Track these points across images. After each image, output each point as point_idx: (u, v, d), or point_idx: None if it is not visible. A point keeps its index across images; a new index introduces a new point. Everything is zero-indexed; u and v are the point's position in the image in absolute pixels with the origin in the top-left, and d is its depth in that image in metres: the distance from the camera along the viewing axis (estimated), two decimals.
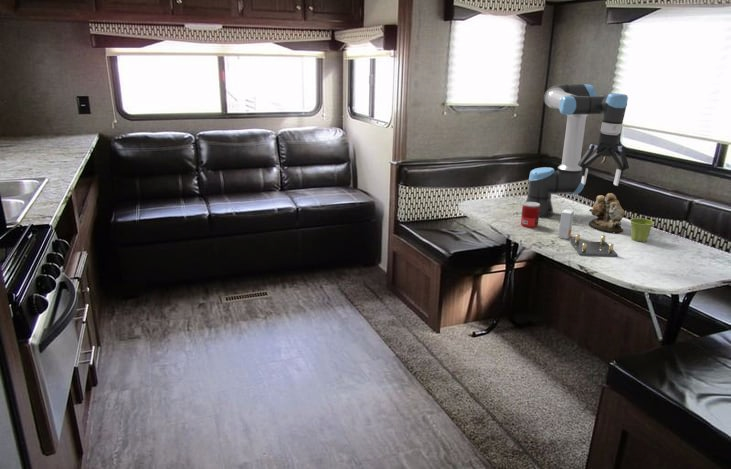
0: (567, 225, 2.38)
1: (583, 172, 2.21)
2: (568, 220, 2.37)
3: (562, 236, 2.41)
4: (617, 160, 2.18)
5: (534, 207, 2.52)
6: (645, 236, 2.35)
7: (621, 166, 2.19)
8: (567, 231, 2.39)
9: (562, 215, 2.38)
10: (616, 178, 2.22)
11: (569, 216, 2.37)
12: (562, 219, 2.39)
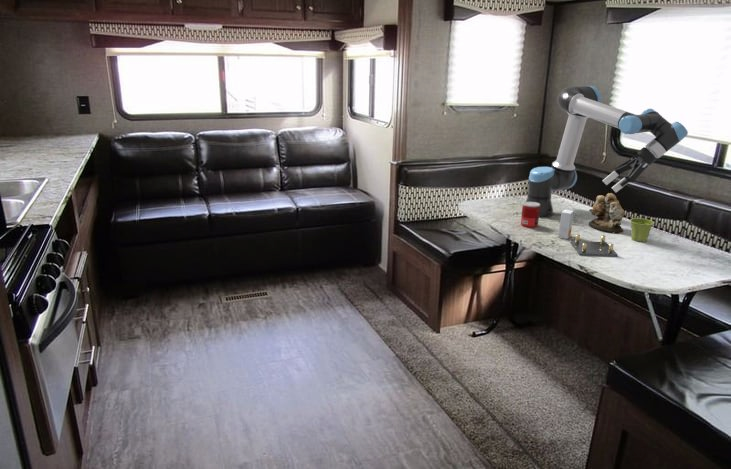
0: (567, 225, 2.38)
1: None
2: (568, 220, 2.37)
3: (562, 236, 2.41)
4: None
5: (534, 207, 2.52)
6: (645, 236, 2.35)
7: None
8: (567, 231, 2.39)
9: (562, 215, 2.38)
10: (610, 179, 2.39)
11: (569, 216, 2.37)
12: (562, 219, 2.39)
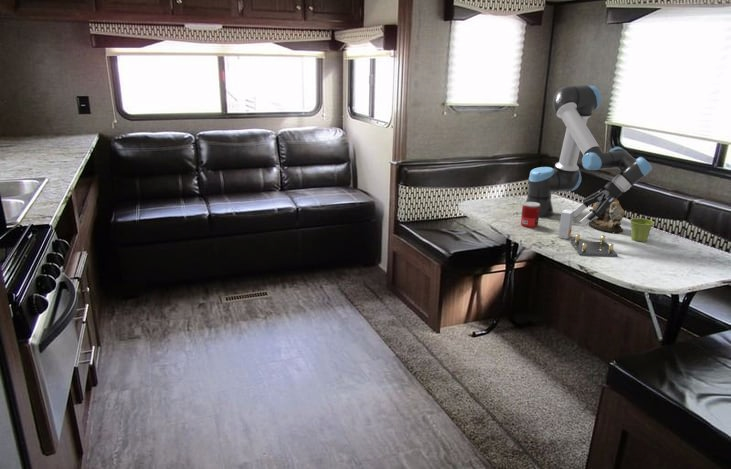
0: (567, 225, 2.38)
1: None
2: (568, 220, 2.37)
3: (562, 236, 2.41)
4: None
5: (534, 207, 2.52)
6: (645, 236, 2.35)
7: None
8: (567, 231, 2.39)
9: (562, 215, 2.38)
10: (579, 211, 2.44)
11: (569, 216, 2.37)
12: (562, 219, 2.39)
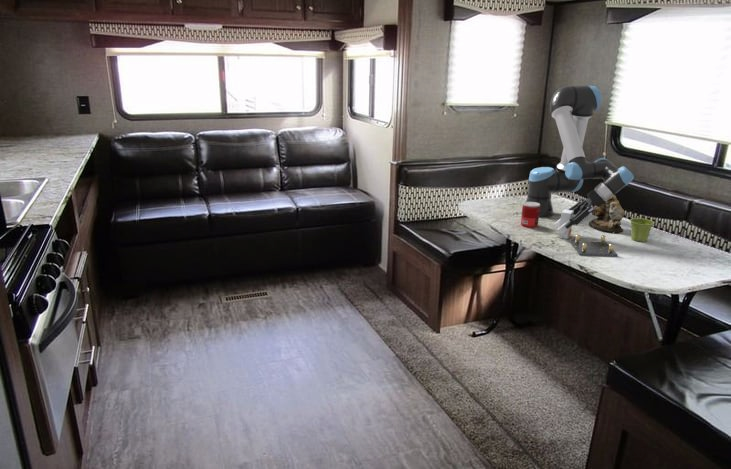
0: None
1: None
2: None
3: (562, 236, 2.41)
4: None
5: (534, 207, 2.52)
6: (645, 236, 2.35)
7: None
8: (567, 231, 2.39)
9: (562, 215, 2.38)
10: None
11: (569, 216, 2.37)
12: (562, 219, 2.39)
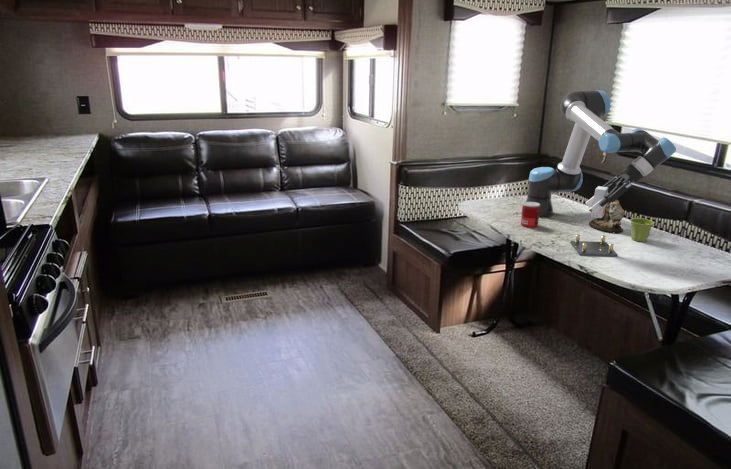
0: None
1: None
2: (602, 197, 2.17)
3: (596, 215, 2.20)
4: None
5: (534, 207, 2.52)
6: (645, 236, 2.35)
7: None
8: (601, 209, 2.18)
9: (596, 192, 2.18)
10: None
11: (604, 193, 2.16)
12: (596, 197, 2.18)
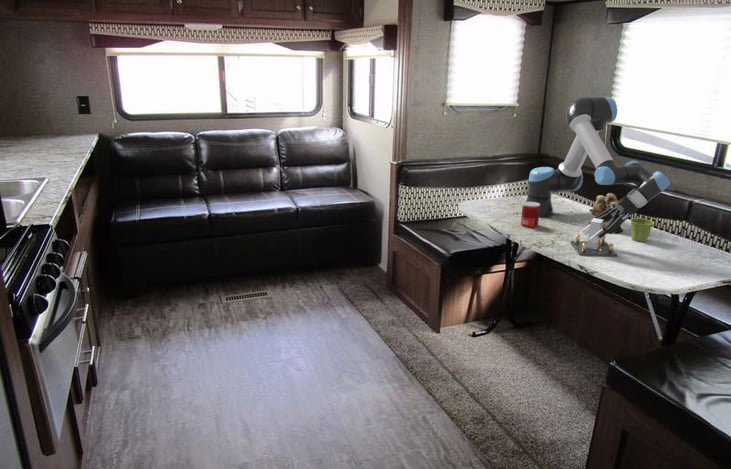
0: None
1: None
2: (597, 230, 2.21)
3: (591, 247, 2.25)
4: None
5: (534, 207, 2.52)
6: (645, 236, 2.35)
7: None
8: (597, 241, 2.23)
9: (591, 224, 2.22)
10: None
11: (599, 225, 2.21)
12: (591, 229, 2.23)
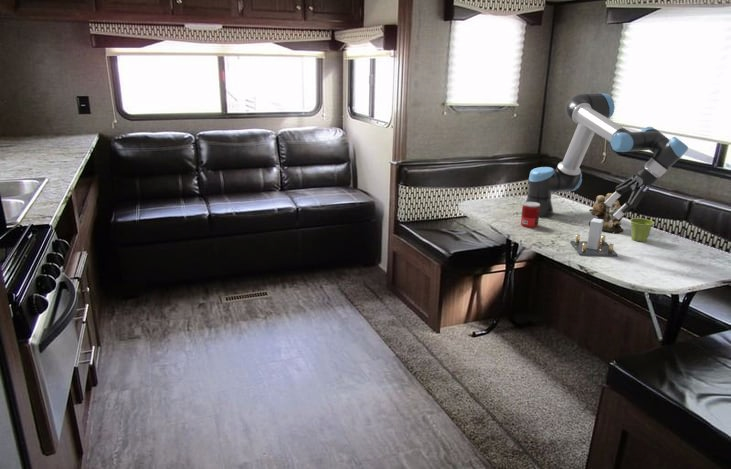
0: (597, 235, 2.22)
1: None
2: (597, 230, 2.21)
3: (591, 247, 2.25)
4: None
5: (534, 207, 2.52)
6: (645, 236, 2.35)
7: None
8: (597, 241, 2.23)
9: (591, 224, 2.22)
10: (612, 200, 2.28)
11: (599, 225, 2.21)
12: (591, 229, 2.23)
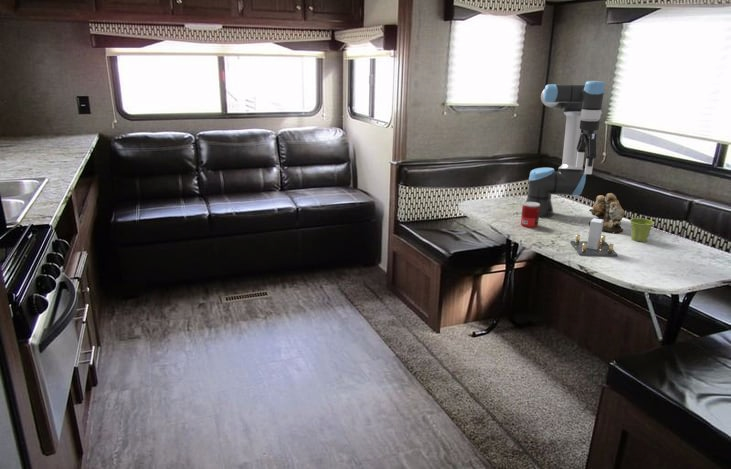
0: (597, 235, 2.22)
1: None
2: (597, 230, 2.21)
3: (591, 247, 2.25)
4: None
5: (534, 207, 2.52)
6: (645, 236, 2.35)
7: None
8: (597, 241, 2.23)
9: (591, 224, 2.22)
10: (581, 160, 2.33)
11: (599, 225, 2.21)
12: (591, 229, 2.23)
